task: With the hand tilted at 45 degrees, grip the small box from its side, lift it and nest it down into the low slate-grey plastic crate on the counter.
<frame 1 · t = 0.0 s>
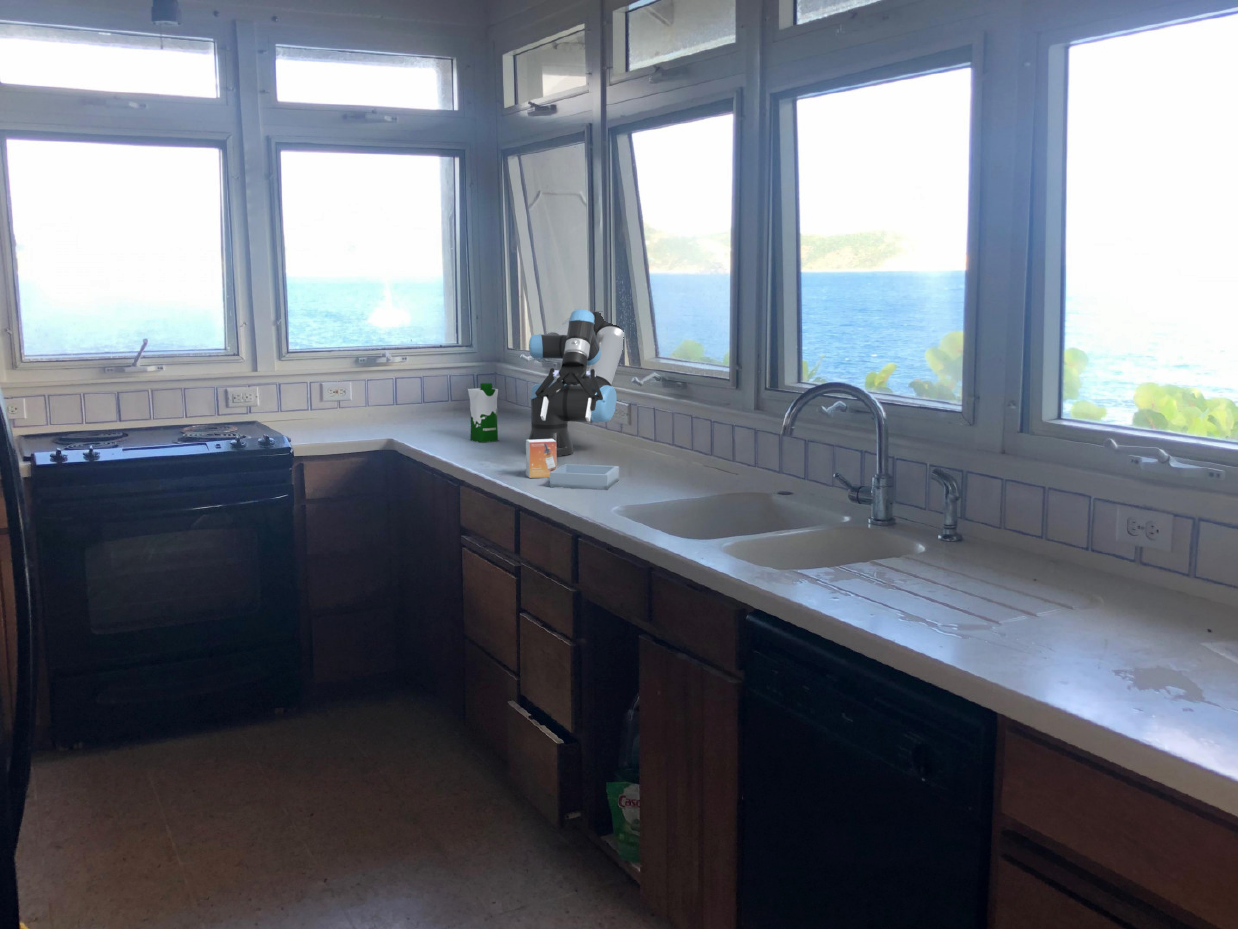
hand: (565, 419, 315), 15 cm above the countertop, tool tilted 35°, fingers open, 13 cm apart
small box: (541, 477, 309), on the countertop
milk carton: (484, 441, 375), on the countertop
crate: (585, 483, 298), on the countertop
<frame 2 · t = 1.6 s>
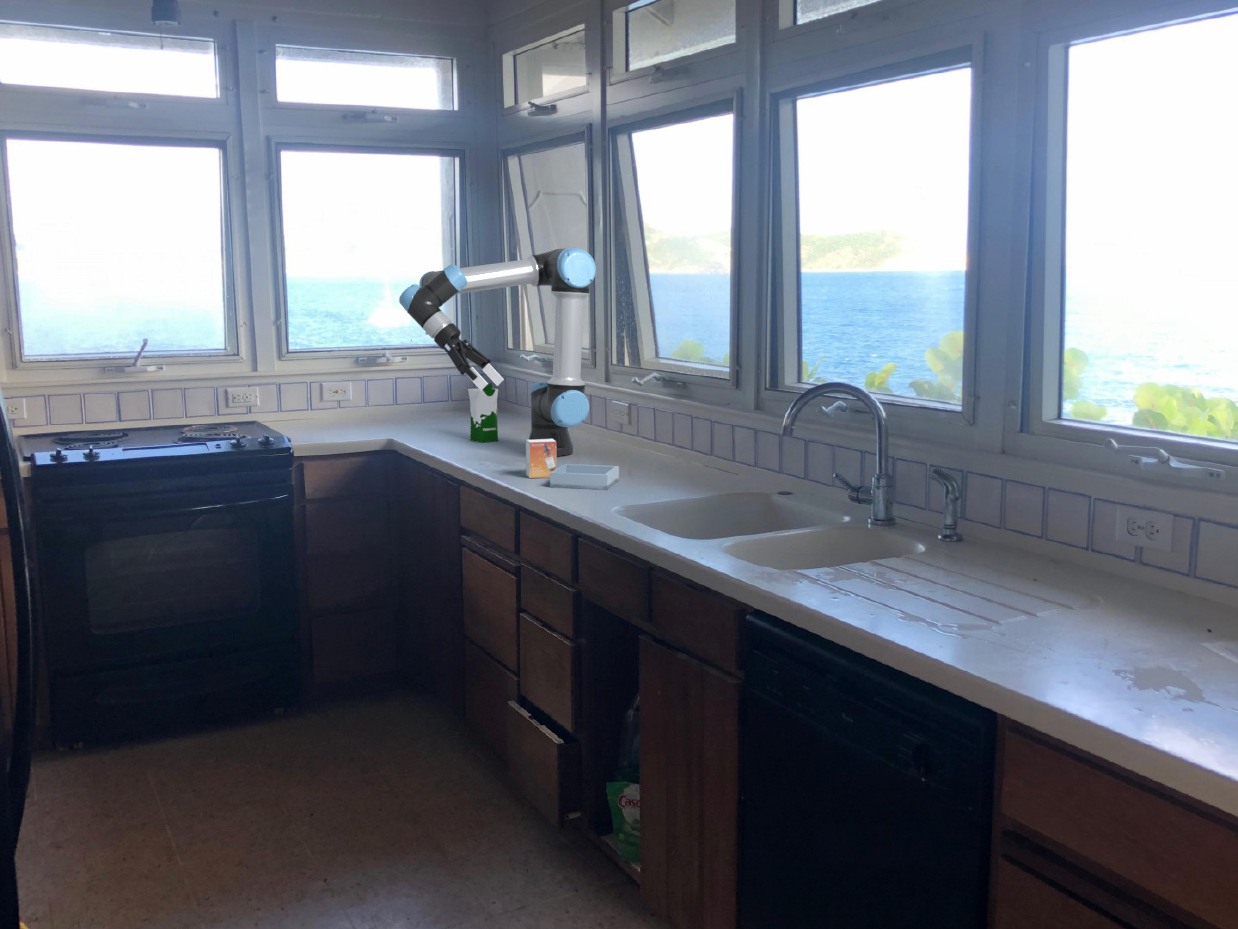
hand: (492, 385, 309), 26 cm above the countertop, tool tilted 45°, fingers open, 13 cm apart
nothing on the countertop moved.
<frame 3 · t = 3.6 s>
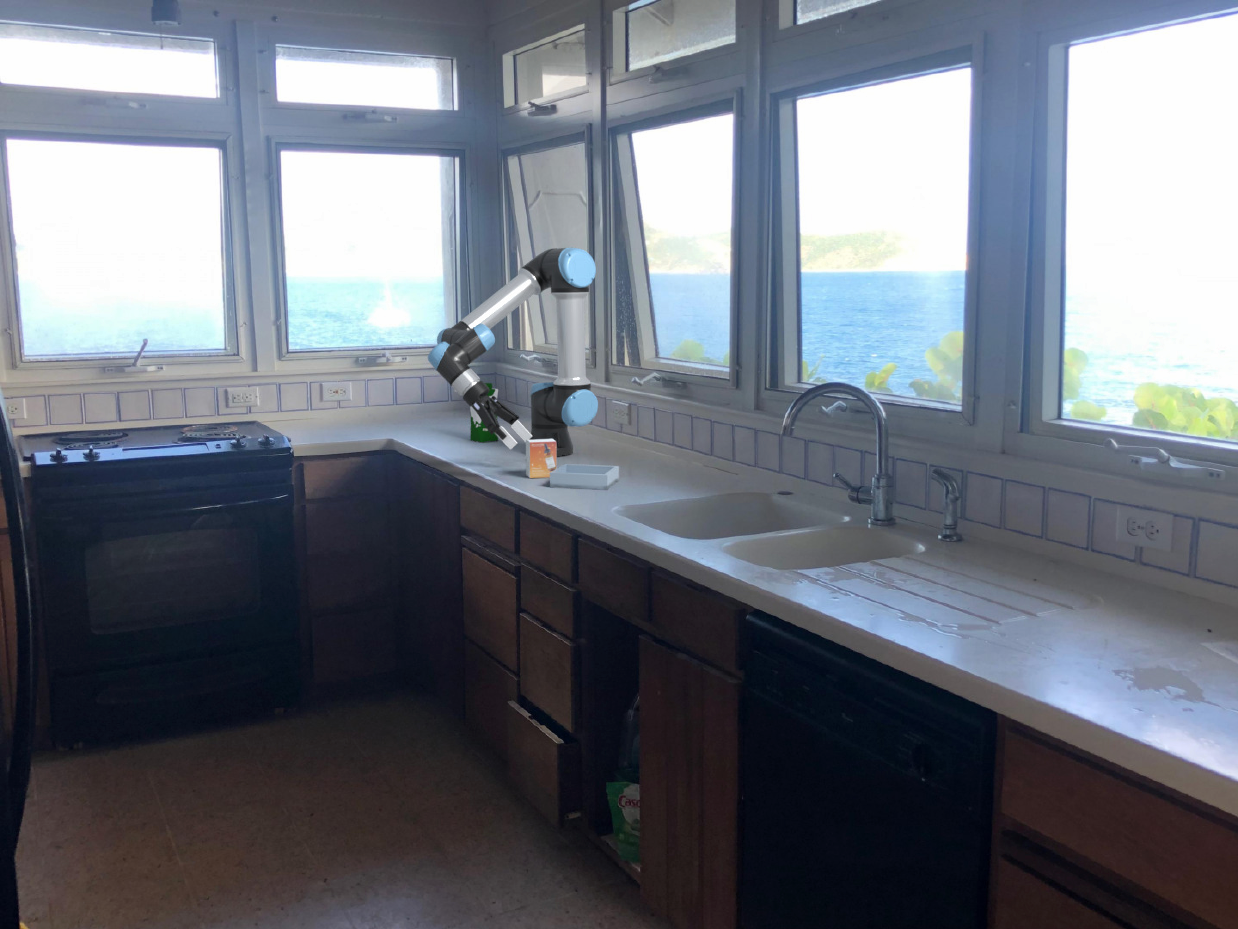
hand: (521, 442, 308), 10 cm above the countertop, tool tilted 45°, fingers open, 13 cm apart
nothing on the countertop moved.
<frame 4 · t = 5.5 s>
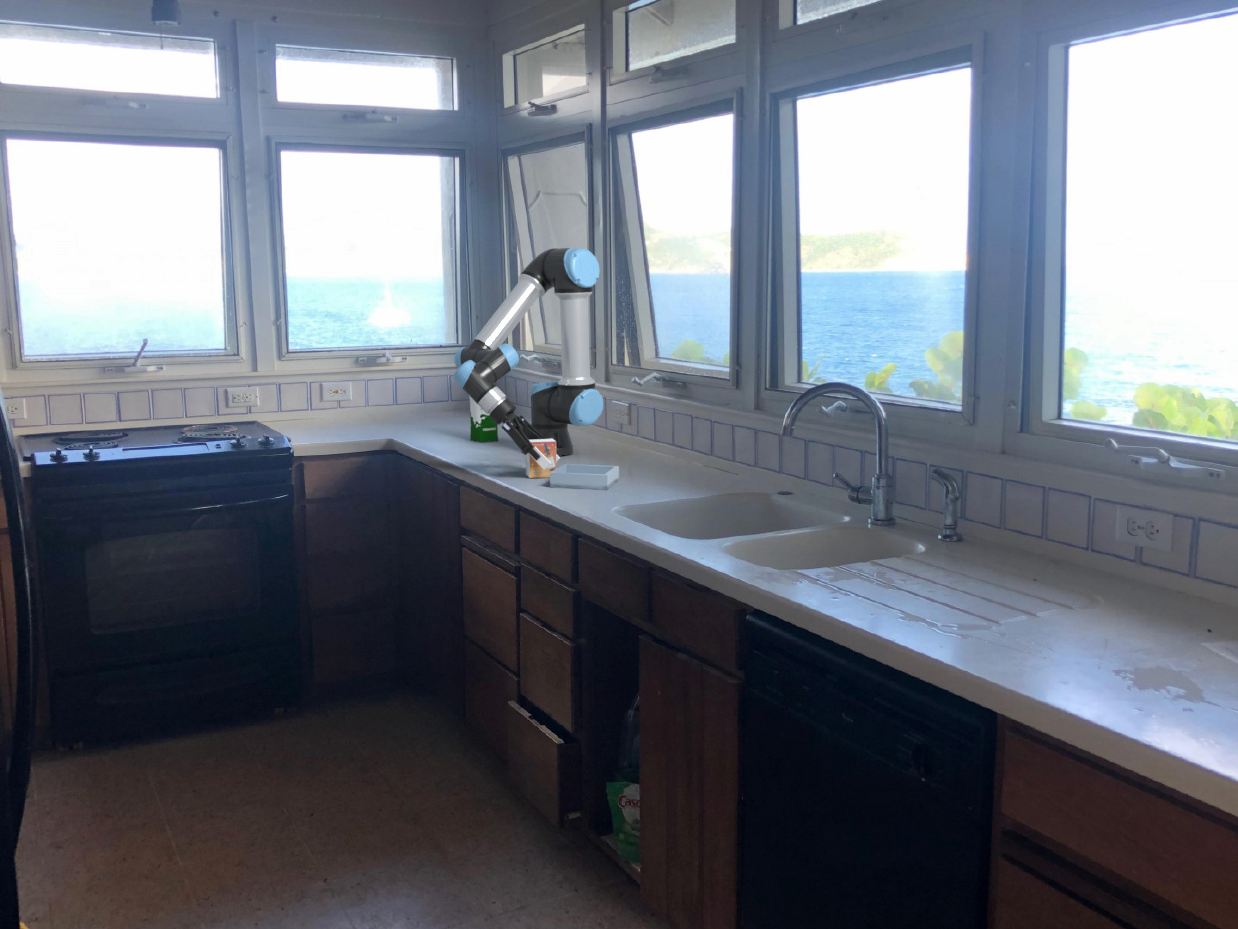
hand: (552, 463, 308), 4 cm above the countertop, tool tilted 45°, fingers closed on small box, 8 cm apart
small box: (541, 477, 309), on the countertop, touching gripper
everything else where it was.
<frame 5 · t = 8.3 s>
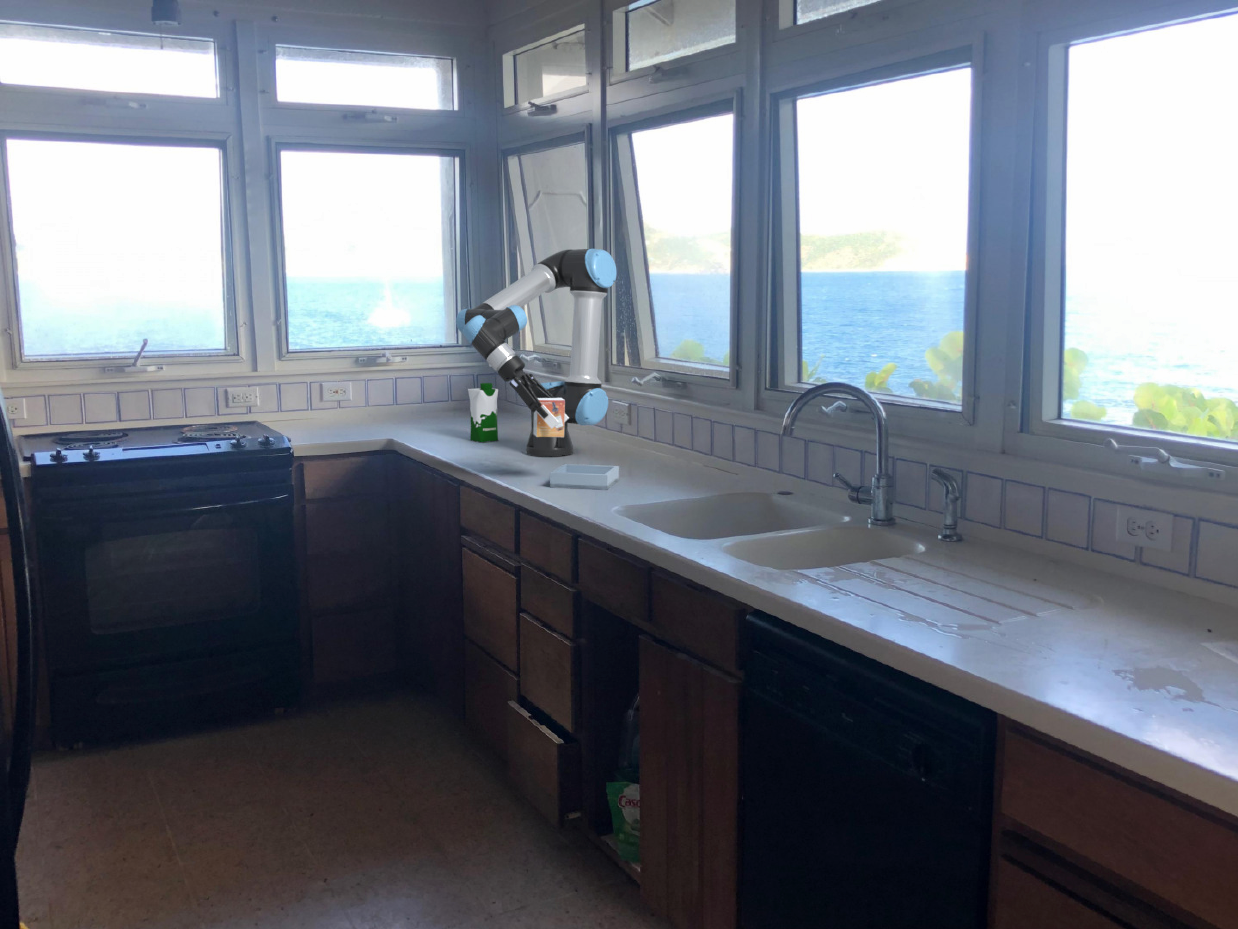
hand: (560, 423, 301), 16 cm above the countertop, tool tilted 45°, fingers closed on small box, 8 cm apart
small box: (548, 436, 302), point 12 cm above the countertop, touching gripper
everything else where it was.
when the fingers open (6 cm above the countertop, at t = 11.4 s): small box drops 1 cm, resting on crate.
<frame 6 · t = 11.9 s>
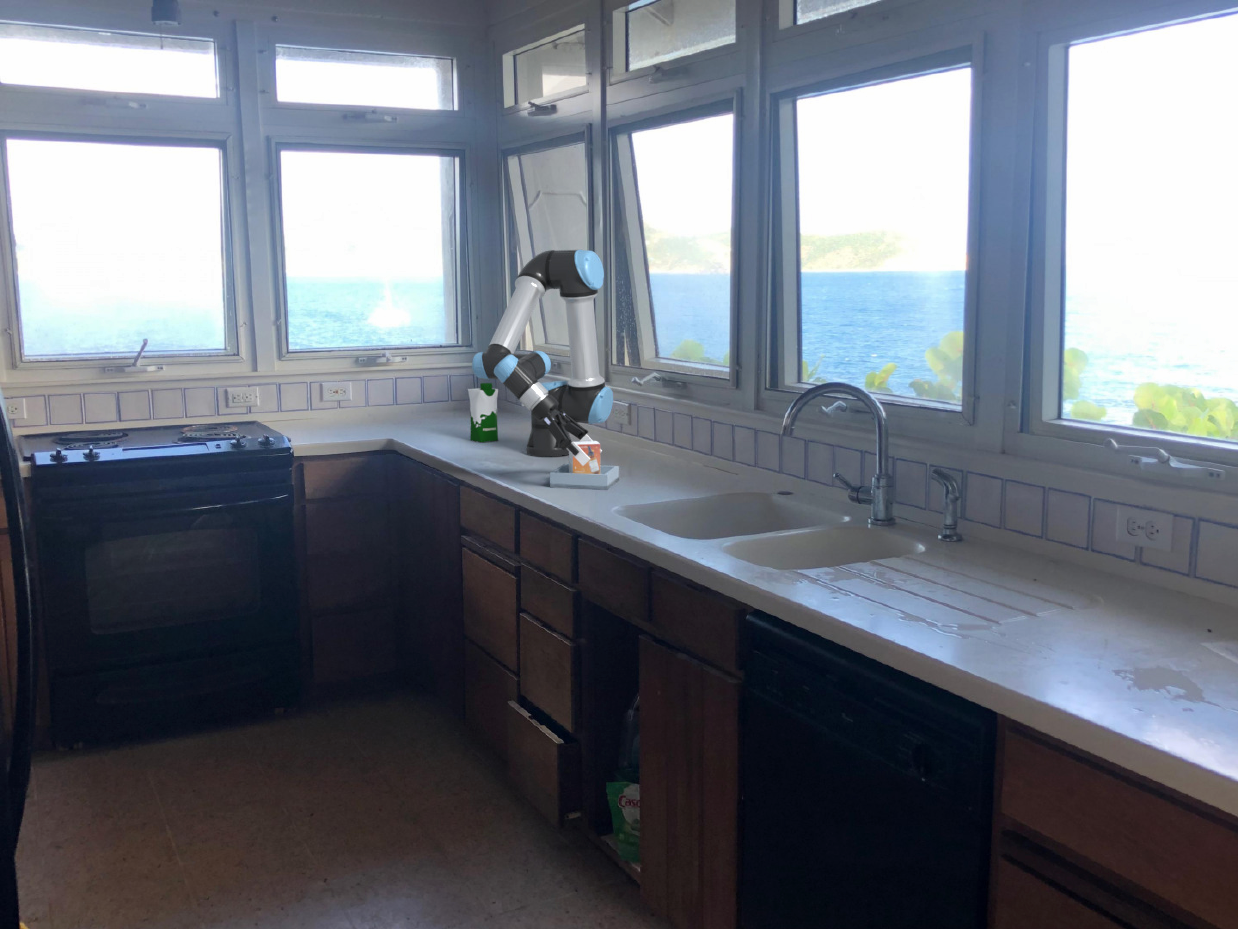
hand: (593, 458, 296), 7 cm above the countertop, tool tilted 45°, fingers open, 13 cm apart
small box: (584, 480, 298), point 1 cm above the countertop, touching crate
everything else where it was.
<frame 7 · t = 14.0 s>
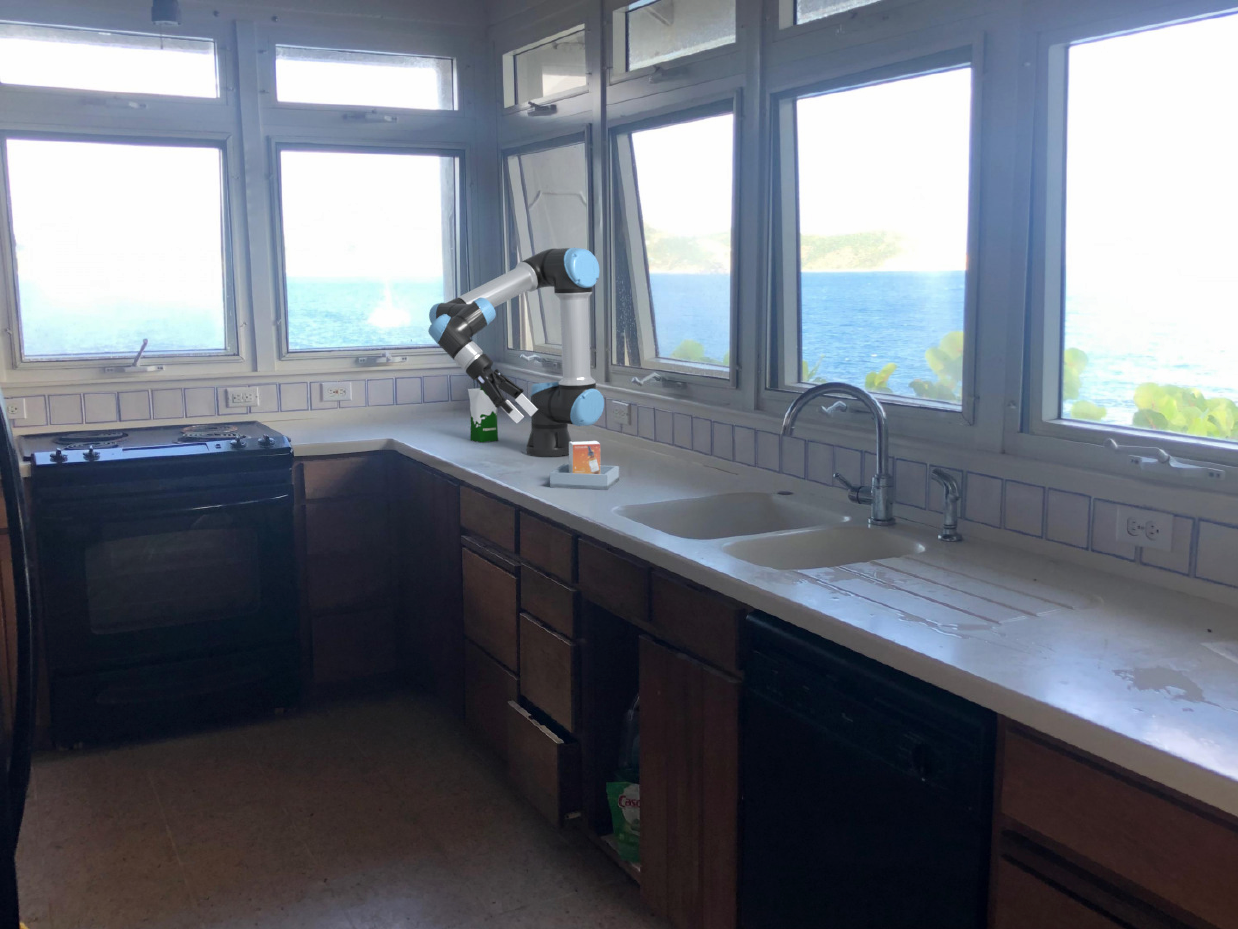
hand: (527, 416, 300), 18 cm above the countertop, tool tilted 45°, fingers open, 13 cm apart
nothing on the countertop moved.
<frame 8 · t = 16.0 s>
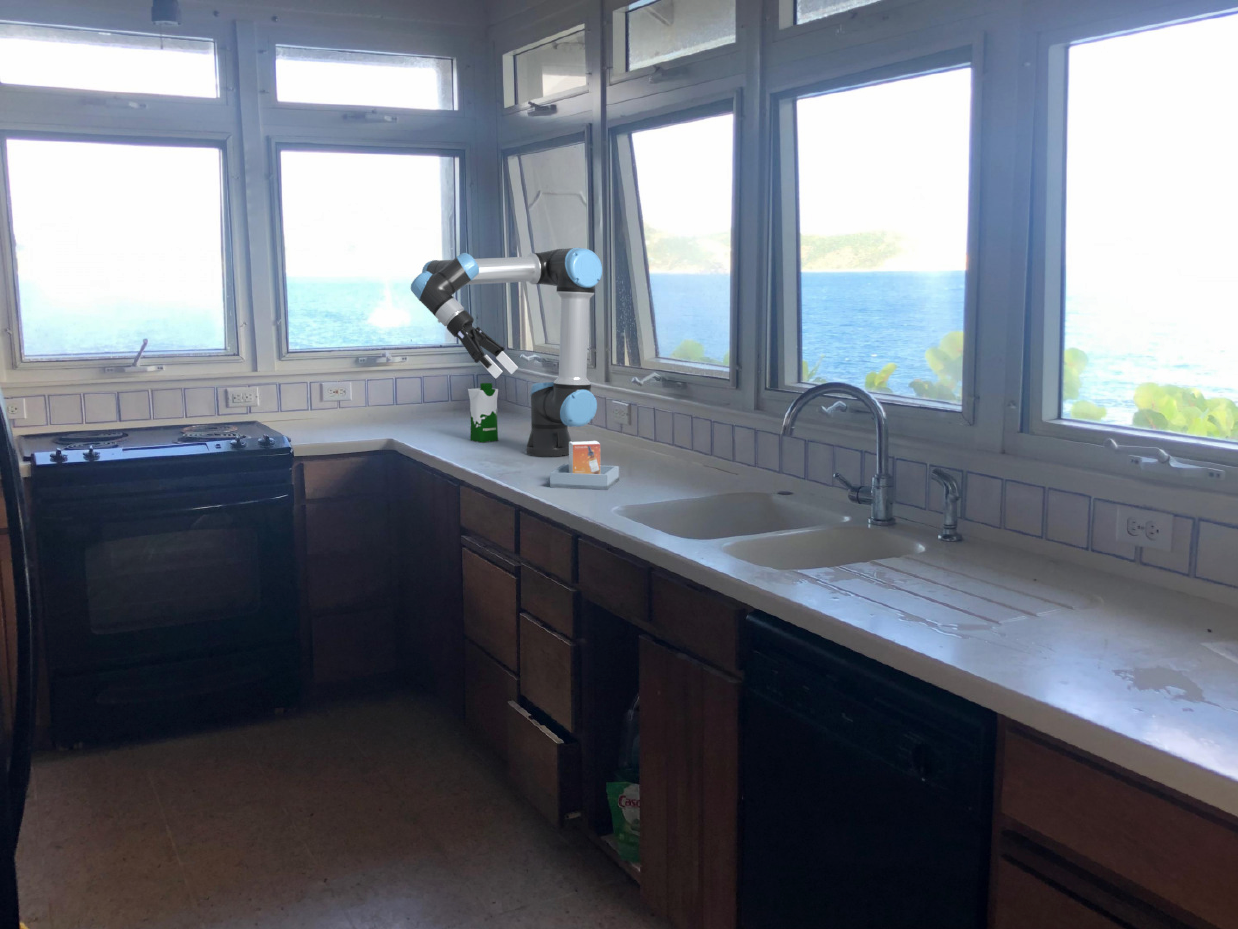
hand: (507, 373, 303), 30 cm above the countertop, tool tilted 45°, fingers open, 13 cm apart
nothing on the countertop moved.
at the end: small box inside the target area on the crate (0.3 cm from its centre), point 0.8 cm above the crate's base; small box tilted 0°; the gripper is holding nothing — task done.
